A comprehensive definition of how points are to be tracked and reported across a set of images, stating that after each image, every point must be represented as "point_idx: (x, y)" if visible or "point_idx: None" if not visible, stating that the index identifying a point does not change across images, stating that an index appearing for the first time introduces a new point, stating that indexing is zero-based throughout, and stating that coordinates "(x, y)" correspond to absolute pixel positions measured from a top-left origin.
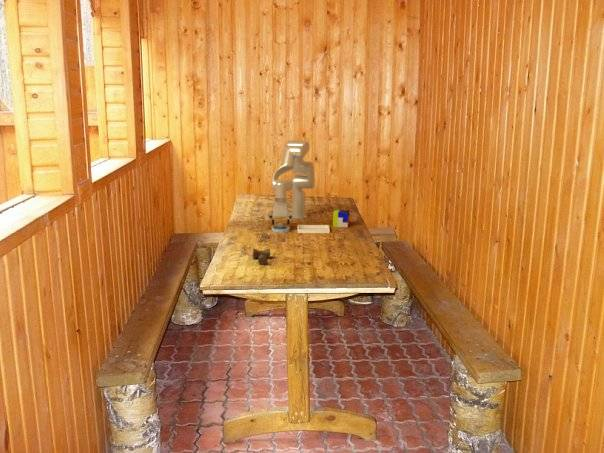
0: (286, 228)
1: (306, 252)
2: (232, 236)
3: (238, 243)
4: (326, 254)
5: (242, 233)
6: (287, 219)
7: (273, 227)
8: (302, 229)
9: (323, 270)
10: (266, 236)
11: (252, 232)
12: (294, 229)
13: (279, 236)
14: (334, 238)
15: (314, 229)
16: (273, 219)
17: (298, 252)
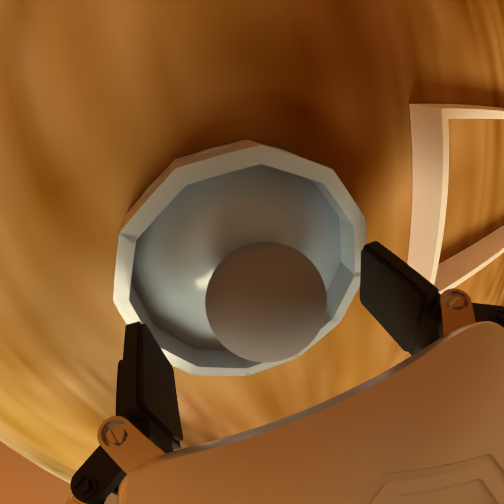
0: (310, 191)
1: None
2: (30, 453)
3: None
4: None
5: (9, 415)
6: (418, 321)
7: (130, 282)
8: (451, 288)
9: None
10: (190, 438)
11: (29, 392)
12: (386, 153)
13: (278, 412)
14: (497, 303)
15: (497, 256)
16: (167, 442)
17: None
